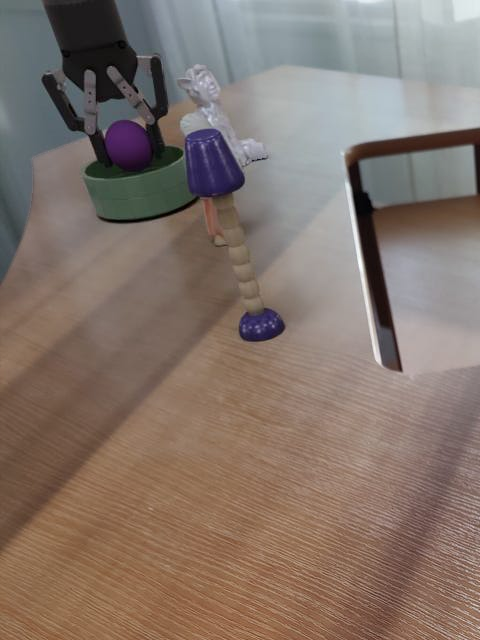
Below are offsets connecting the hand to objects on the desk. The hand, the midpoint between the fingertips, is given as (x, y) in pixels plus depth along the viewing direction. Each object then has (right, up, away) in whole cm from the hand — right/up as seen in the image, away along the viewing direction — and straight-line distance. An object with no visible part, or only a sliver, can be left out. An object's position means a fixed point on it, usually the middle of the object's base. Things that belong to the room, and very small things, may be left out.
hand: (134, 161), depth 107 cm
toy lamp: (+22, -31, -26) cm, 46 cm away
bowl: (0, -4, +4) cm, 5 cm away
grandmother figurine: (+14, -14, -8) cm, 21 cm away
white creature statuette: (+8, +5, +12) cm, 15 cm away
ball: (0, +1, -1) cm, 2 cm away
